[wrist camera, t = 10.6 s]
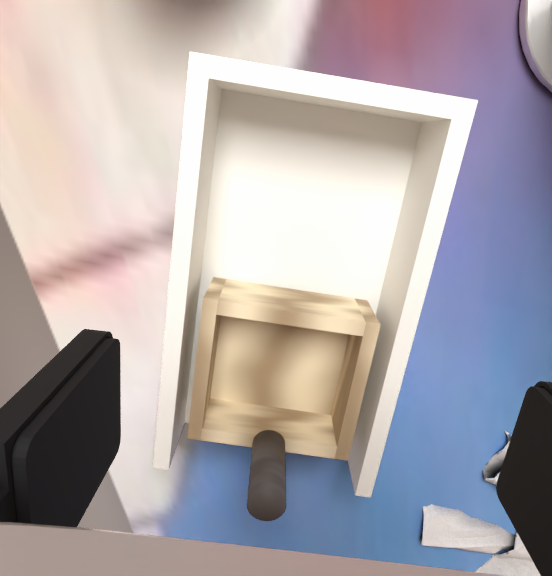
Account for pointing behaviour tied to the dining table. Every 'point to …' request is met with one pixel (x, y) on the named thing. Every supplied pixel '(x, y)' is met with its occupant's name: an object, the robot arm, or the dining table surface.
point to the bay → (308, 215)
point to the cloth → (479, 532)
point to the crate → (279, 378)
